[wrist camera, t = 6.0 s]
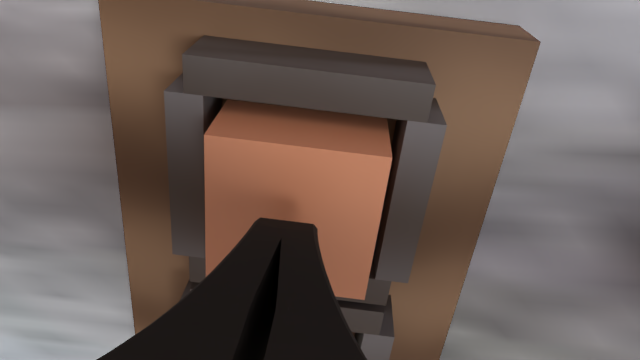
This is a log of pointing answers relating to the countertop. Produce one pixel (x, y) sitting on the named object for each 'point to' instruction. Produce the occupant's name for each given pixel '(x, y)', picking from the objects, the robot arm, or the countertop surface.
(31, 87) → the countertop surface
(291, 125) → the terracotta button
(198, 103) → the button panel
